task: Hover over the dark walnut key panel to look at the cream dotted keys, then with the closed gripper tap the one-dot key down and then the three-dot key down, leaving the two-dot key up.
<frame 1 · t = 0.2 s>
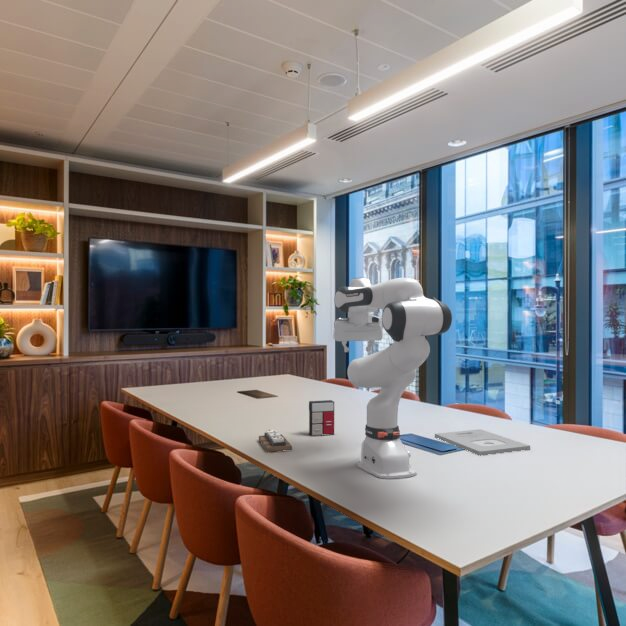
hand: (357, 351, 201), 39 cm above the table, tool pointing down, fingers open, 8 cm apart
key one: (274, 436, 204), point 4 cm above the table, slide at 0.0 cm
key two: (271, 432, 210), point 4 cm above the table, slide at 0.0 cm
key three: (277, 439, 198), point 4 cm above the table, slide at 0.0 cm
key panel: (274, 445, 204), on the table
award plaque: (480, 445, 208), on the table
calculator: (321, 435, 222), on the table
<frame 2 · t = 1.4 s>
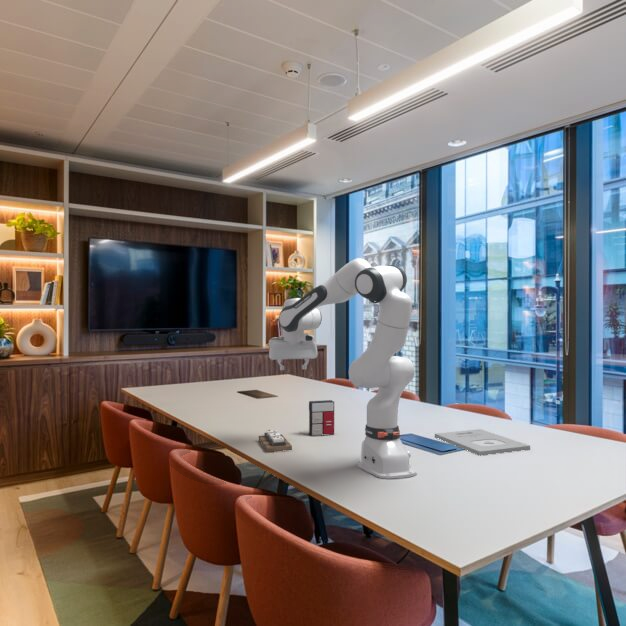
hand: (293, 369, 206), 31 cm above the table, tool pointing down, fingers open, 8 cm apart
nothing on the table moved.
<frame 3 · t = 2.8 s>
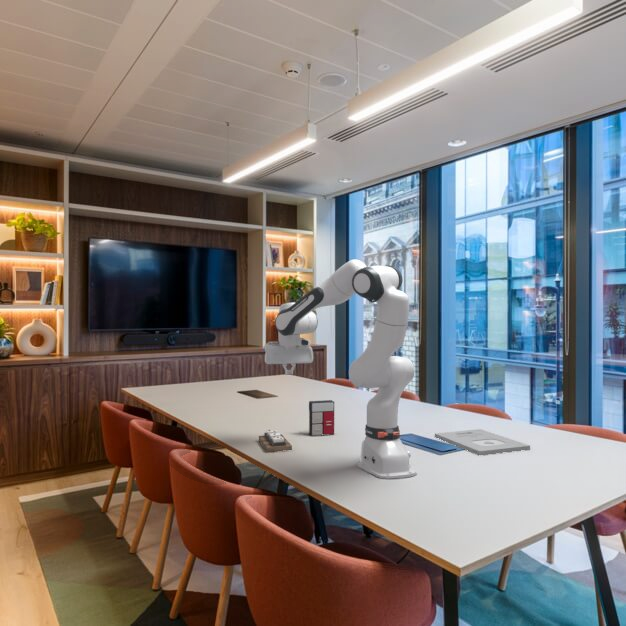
hand: (289, 374, 206), 29 cm above the table, tool pointing down, fingers closed
nothing on the table moved.
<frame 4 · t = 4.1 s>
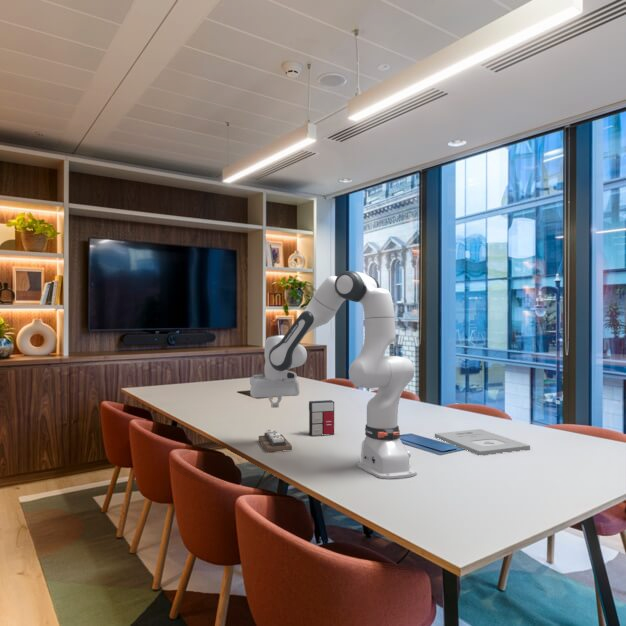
hand: (274, 407, 204), 16 cm above the table, tool pointing down, fingers closed
nothing on the table moved.
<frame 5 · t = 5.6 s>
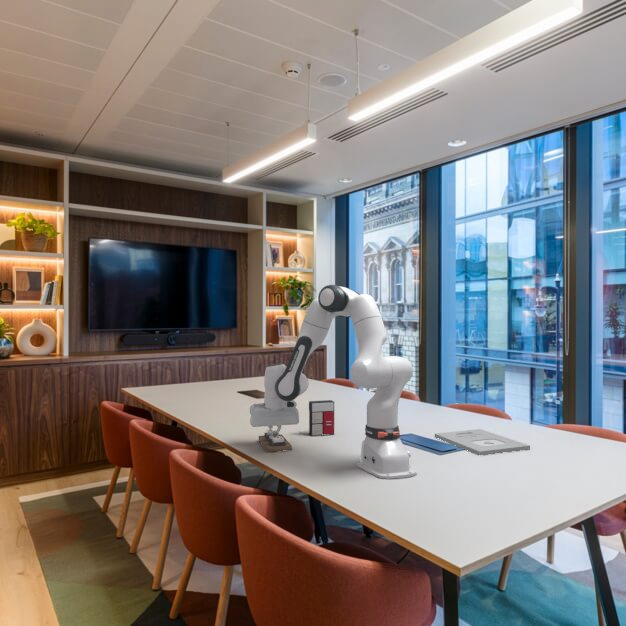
hand: (274, 436, 204), 4 cm above the table, tool pointing down, fingers closed, pressing on key one
key one: (274, 438, 204), point 3 cm above the table, slide at 1.0 cm, touching gripper, key panel
everything else where it was.
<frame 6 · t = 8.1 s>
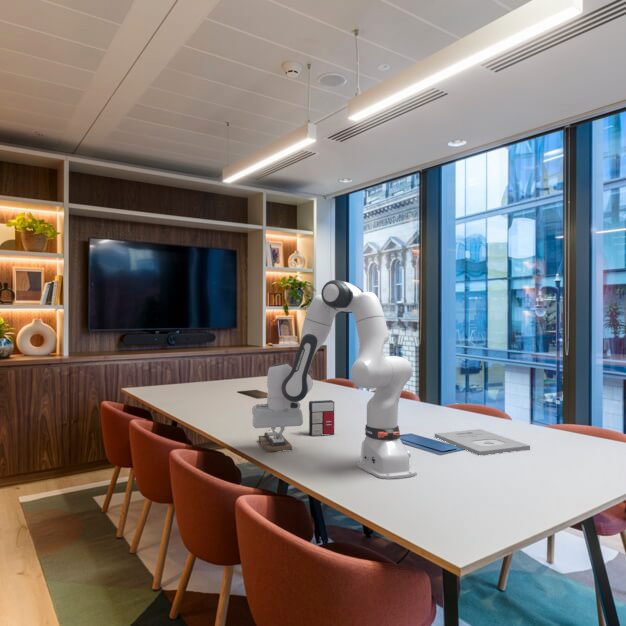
hand: (277, 437, 199), 4 cm above the table, tool pointing down, fingers closed, pressing on key three
key one: (274, 438, 204), point 3 cm above the table, slide at 1.0 cm, touching key panel
key three: (277, 440, 198), point 4 cm above the table, slide at 0.4 cm, touching gripper
everything else where it was.
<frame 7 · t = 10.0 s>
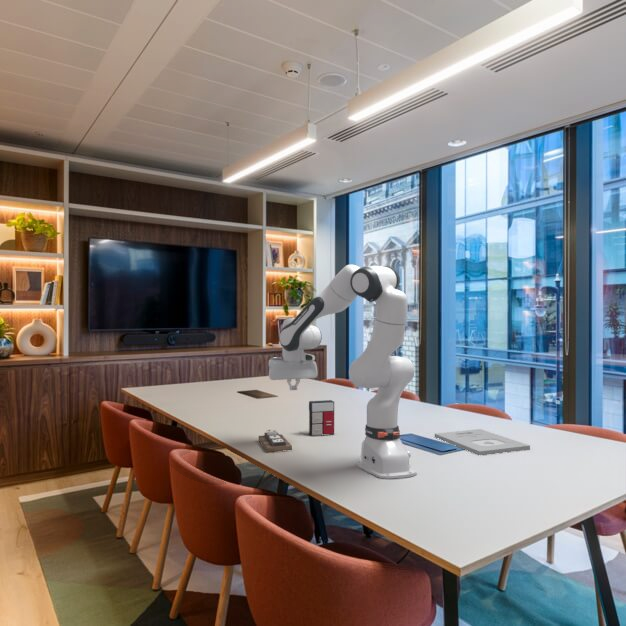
hand: (293, 390, 204), 23 cm above the table, tool pointing down, fingers closed
key three: (277, 442, 198), point 3 cm above the table, slide at 1.0 cm, touching key panel
everything else where it was.
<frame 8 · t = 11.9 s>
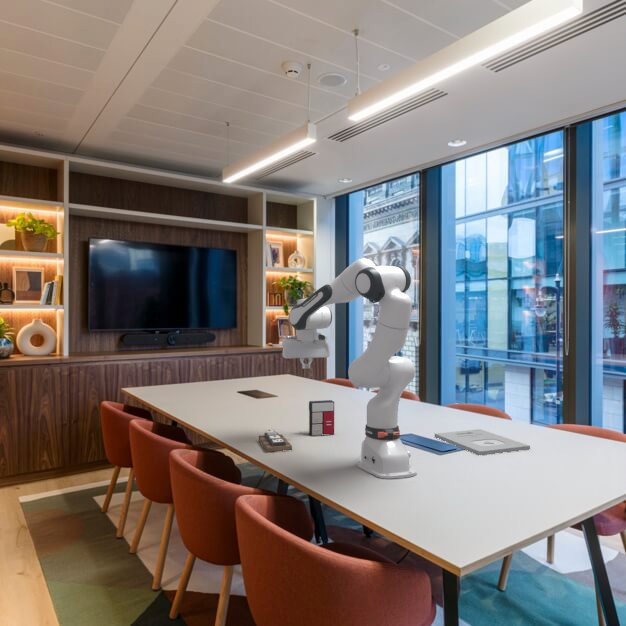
hand: (306, 368, 210), 31 cm above the table, tool pointing down, fingers closed
nothing on the table moved.
at the end: key one slide at 1.0 cm; key three slide at 1.0 cm; key two slide at 0.0 cm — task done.
